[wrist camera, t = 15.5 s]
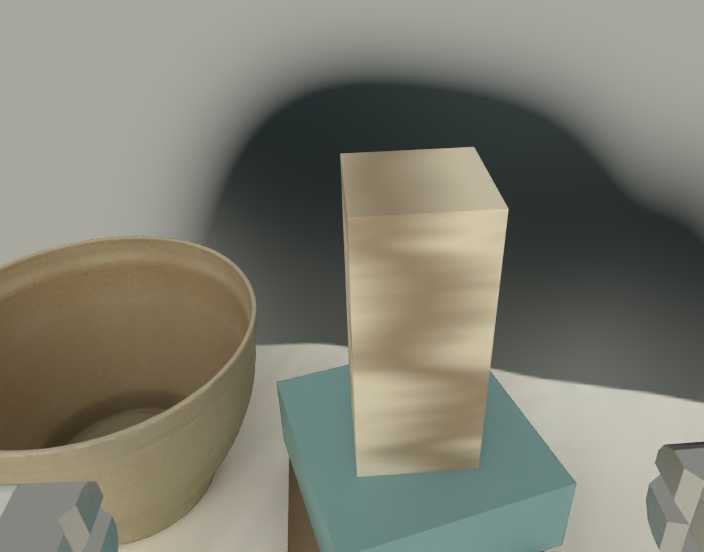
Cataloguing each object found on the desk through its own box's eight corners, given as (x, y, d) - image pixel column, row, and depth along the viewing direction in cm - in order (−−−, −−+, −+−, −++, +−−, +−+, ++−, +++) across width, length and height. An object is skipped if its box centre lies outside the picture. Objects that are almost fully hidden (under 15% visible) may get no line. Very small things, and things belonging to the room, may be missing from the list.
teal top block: (459, 393, 36) (464, 336, 34) (561, 544, 28) (576, 483, 26) (283, 439, 34) (276, 382, 32) (341, 619, 26) (337, 558, 24)
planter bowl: (-70, 651, 29) (-188, 487, 23) (13, 399, 42) (-48, 255, 36) (293, 576, 31) (271, 411, 25) (263, 361, 45) (244, 219, 39)
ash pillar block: (455, 385, 31) (473, 147, 24) (478, 469, 27) (508, 208, 20) (350, 391, 31) (340, 153, 24) (356, 477, 27) (347, 217, 20)
